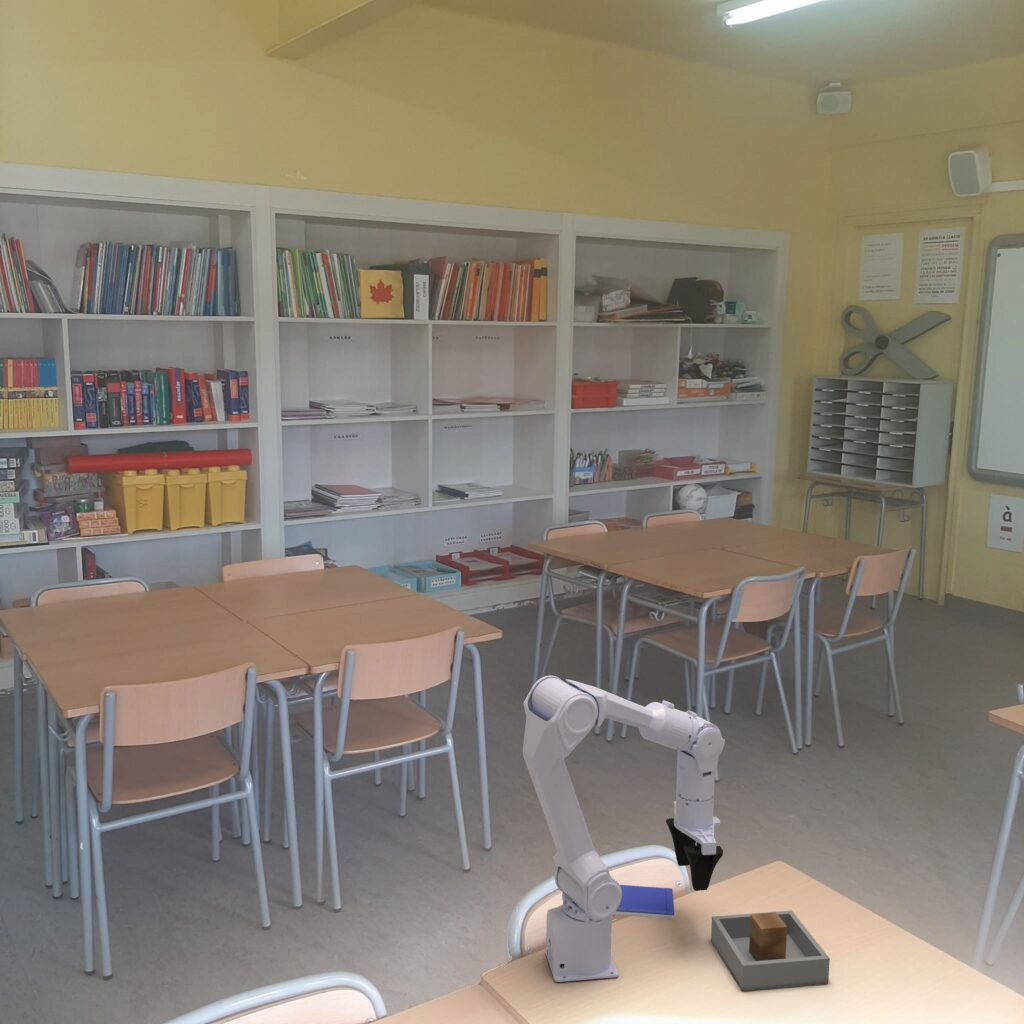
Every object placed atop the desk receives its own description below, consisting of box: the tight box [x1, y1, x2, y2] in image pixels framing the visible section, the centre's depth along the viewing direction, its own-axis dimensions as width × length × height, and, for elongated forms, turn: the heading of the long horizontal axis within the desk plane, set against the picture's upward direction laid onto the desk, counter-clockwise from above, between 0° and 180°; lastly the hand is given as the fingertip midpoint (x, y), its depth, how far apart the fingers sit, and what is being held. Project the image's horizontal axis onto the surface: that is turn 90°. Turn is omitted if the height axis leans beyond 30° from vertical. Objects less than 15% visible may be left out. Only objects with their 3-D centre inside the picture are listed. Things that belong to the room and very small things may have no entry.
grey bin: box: [710, 910, 831, 993], centre depth 151 cm, size 13×13×4 cm
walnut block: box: [749, 911, 787, 961], centre depth 151 cm, size 4×4×6 cm
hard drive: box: [613, 884, 675, 919], centre depth 168 cm, size 2×8×12 cm
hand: (692, 876), depth 158 cm, fingers open, 7 cm apart
